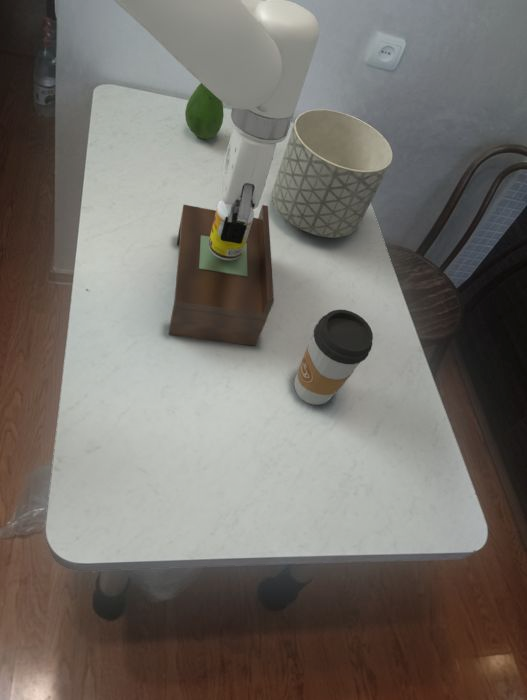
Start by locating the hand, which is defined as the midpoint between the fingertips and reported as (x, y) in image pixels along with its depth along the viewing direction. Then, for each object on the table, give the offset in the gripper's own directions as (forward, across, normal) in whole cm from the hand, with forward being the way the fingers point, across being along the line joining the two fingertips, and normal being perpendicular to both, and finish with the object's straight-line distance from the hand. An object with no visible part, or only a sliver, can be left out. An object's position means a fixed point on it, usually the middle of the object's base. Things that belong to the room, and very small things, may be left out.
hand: (231, 225), depth 81 cm
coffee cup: (+15, +18, +16) cm, 28 cm away
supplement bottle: (+5, 0, 0) cm, 5 cm away
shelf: (+14, 0, 0) cm, 14 cm away
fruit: (+15, -46, -4) cm, 48 cm away
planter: (+14, -25, +20) cm, 35 cm away
